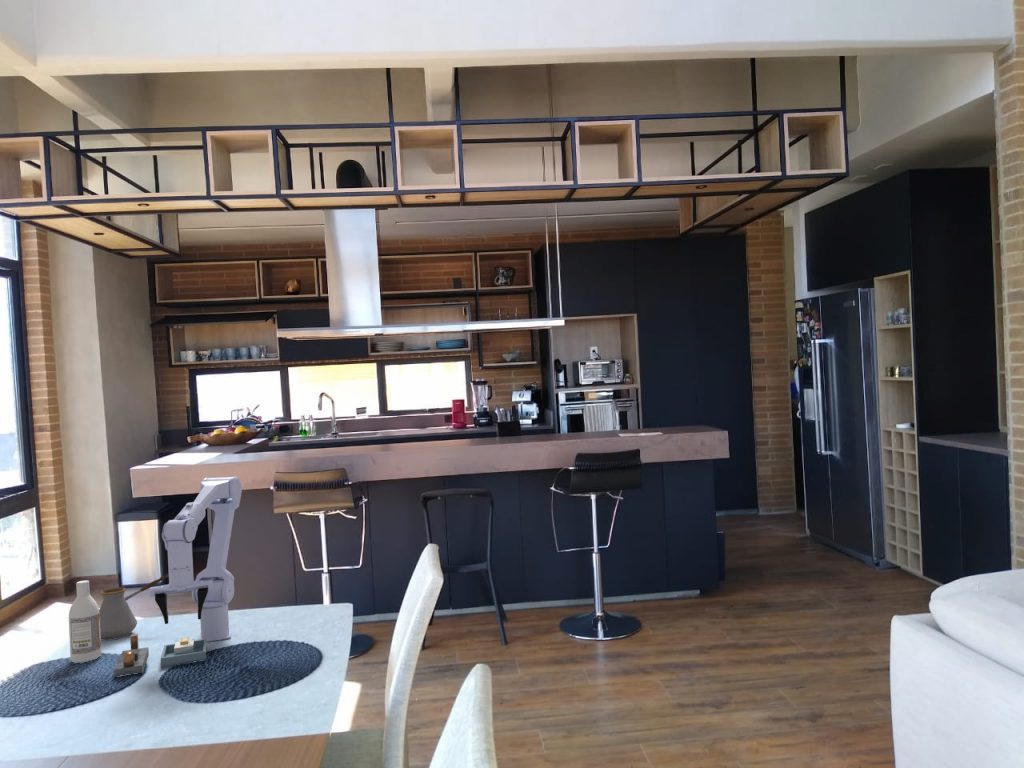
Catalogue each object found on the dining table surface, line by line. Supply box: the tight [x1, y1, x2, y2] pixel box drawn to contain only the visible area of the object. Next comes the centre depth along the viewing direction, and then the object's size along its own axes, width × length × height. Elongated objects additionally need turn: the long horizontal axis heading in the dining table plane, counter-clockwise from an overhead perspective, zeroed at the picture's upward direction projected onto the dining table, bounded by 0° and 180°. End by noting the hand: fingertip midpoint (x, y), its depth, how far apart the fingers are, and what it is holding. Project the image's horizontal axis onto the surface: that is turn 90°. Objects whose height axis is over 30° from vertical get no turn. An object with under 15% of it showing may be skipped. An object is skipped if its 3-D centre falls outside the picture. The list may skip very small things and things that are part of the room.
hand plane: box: [113, 633, 150, 677], centre depth 190 cm, size 15×6×6 cm, turn 20°
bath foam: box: [68, 579, 102, 663], centre depth 197 cm, size 7×7×20 cm
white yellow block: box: [174, 637, 195, 656], centre depth 194 cm, size 6×4×4 cm
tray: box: [160, 639, 208, 669], centre depth 194 cm, size 11×10×2 cm
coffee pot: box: [99, 573, 169, 641], centre depth 220 cm, size 21×12×15 cm, turn 125°
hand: (183, 620), depth 195 cm, fingers open, 7 cm apart
